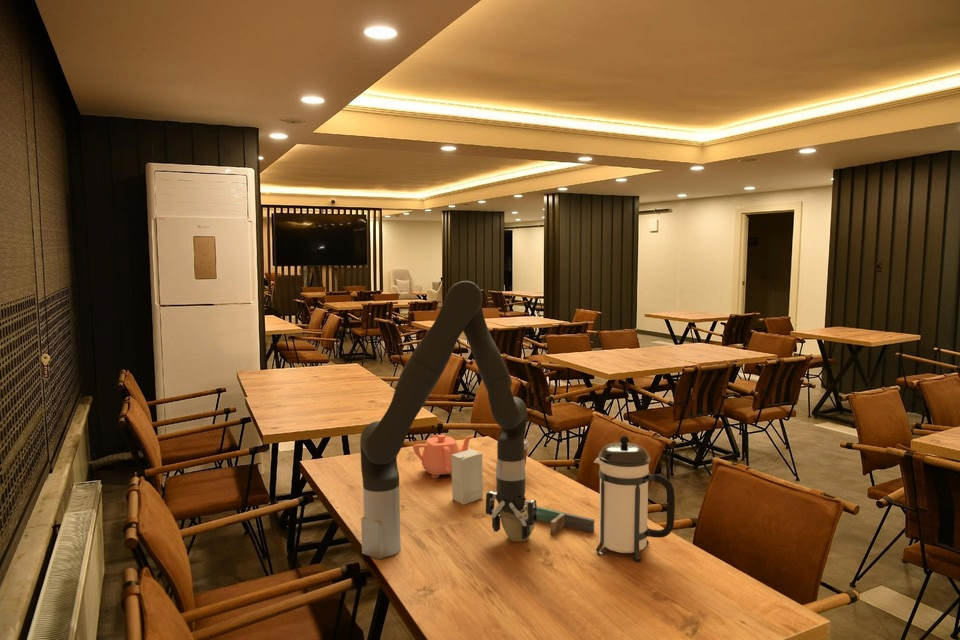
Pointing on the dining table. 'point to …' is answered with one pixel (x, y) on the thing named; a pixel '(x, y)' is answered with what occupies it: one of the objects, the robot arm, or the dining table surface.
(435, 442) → the teapot
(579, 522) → the t-shaped slab assembly
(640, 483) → the coffee press
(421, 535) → the dining table surface
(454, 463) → the skincare box
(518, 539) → the flower pot
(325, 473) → the dining table surface
